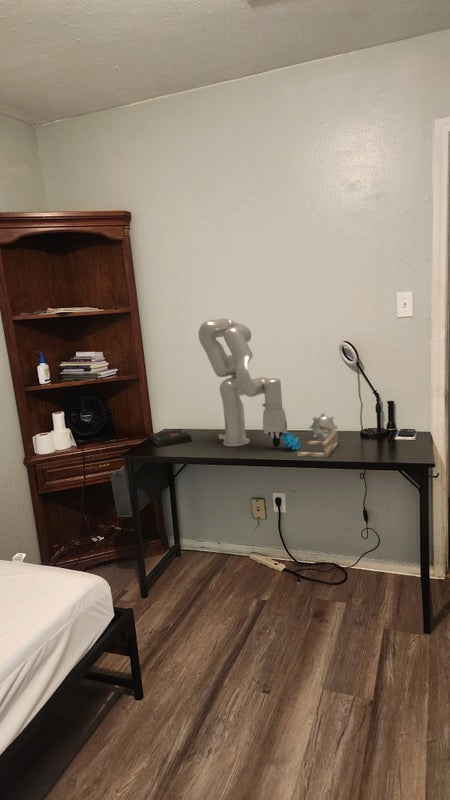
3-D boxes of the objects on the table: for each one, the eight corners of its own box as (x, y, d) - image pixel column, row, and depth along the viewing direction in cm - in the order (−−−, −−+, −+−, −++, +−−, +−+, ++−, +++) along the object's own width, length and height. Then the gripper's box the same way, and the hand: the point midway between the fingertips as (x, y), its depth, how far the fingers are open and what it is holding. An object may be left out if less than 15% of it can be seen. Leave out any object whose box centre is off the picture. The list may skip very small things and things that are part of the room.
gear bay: (297, 456, 219) (296, 442, 218) (308, 443, 237) (308, 430, 236) (327, 457, 213) (326, 443, 212) (337, 443, 231) (336, 431, 230)
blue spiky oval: (292, 449, 223) (279, 431, 227) (284, 457, 226) (271, 440, 230) (306, 446, 231) (293, 429, 235) (298, 454, 234) (285, 437, 238)
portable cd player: (192, 442, 257) (191, 434, 257) (159, 448, 252) (158, 440, 251) (182, 435, 273) (181, 428, 272) (151, 441, 267) (150, 433, 266)
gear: (310, 442, 237) (308, 414, 235) (311, 440, 240) (310, 413, 238) (337, 443, 232) (335, 414, 230) (338, 441, 235) (337, 413, 233)
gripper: (255, 408, 229) (258, 447, 232) (287, 408, 223) (290, 449, 226) (260, 404, 236) (263, 443, 239) (292, 404, 229) (295, 444, 233)
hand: (276, 445), depth 233 cm, fingers closed
